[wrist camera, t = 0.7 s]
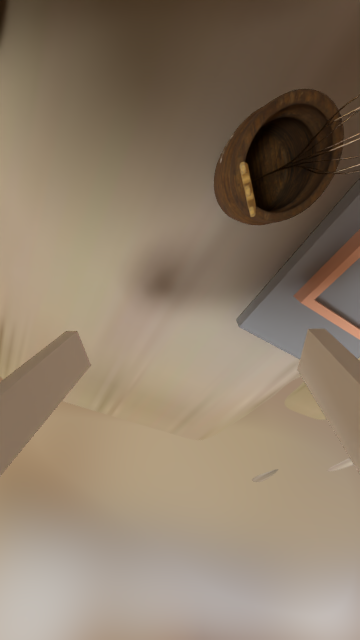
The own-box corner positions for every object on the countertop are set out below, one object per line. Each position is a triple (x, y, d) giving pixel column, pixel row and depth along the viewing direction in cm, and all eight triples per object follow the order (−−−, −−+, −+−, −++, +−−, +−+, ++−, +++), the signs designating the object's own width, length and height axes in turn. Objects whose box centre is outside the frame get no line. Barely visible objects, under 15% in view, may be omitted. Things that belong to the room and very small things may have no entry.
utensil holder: (293, 201, 16) (482, 196, 6) (221, 233, 17) (264, 277, 7) (283, 108, 13) (625, -242, 3) (198, 158, 14) (215, 52, 4)
